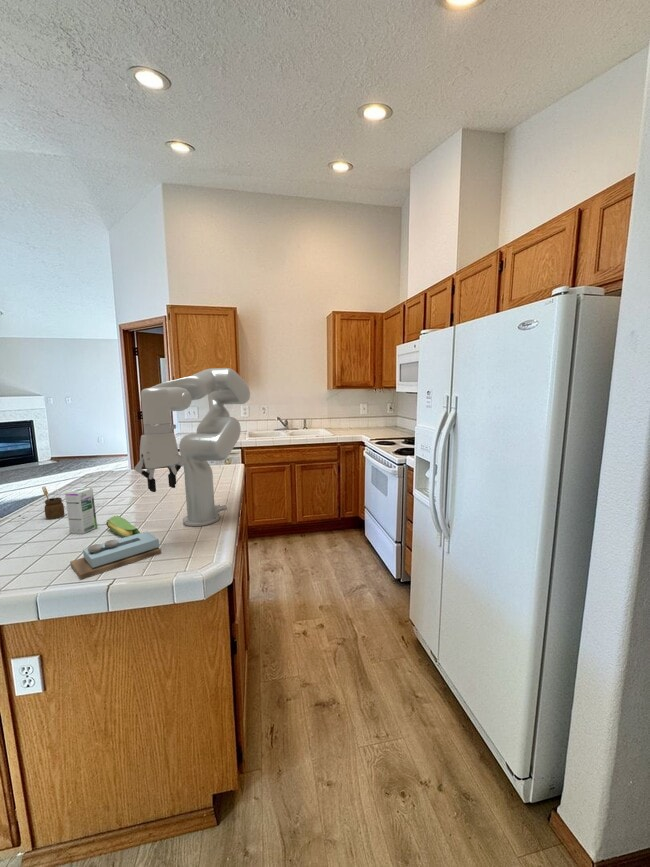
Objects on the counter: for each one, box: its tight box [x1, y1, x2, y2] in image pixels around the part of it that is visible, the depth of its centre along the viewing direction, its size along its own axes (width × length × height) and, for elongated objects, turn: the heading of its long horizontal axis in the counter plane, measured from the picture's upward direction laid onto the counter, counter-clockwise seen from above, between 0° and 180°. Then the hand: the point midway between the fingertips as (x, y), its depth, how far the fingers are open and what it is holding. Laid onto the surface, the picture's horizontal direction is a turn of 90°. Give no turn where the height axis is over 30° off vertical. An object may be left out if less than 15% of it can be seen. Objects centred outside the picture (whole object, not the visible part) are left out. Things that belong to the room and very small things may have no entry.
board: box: [69, 539, 162, 580], centre depth 103 cm, size 20×11×5 cm, turn 135°
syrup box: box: [64, 487, 98, 535], centre depth 125 cm, size 6×6×14 cm
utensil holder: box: [41, 486, 65, 520], centre depth 140 cm, size 6×6×12 cm
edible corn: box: [105, 515, 141, 538], centre depth 122 cm, size 5×20×5 cm
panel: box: [82, 531, 160, 568], centre depth 104 cm, size 17×9×2 cm, turn 135°
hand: (162, 488), depth 111 cm, fingers open, 5 cm apart
